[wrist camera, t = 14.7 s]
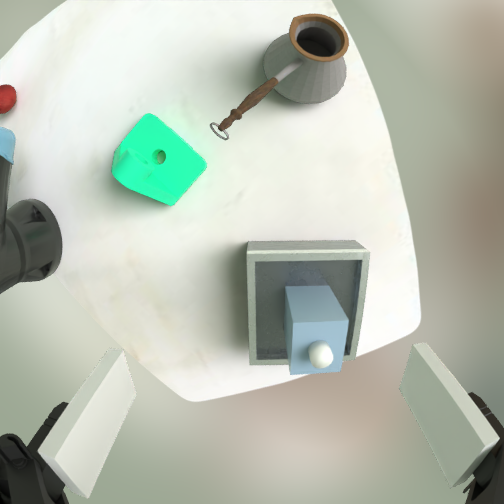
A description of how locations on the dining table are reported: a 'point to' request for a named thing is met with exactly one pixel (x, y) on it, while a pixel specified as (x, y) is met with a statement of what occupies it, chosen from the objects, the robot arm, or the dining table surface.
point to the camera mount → (148, 168)
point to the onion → (7, 98)
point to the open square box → (301, 274)
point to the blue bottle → (314, 330)
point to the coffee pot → (301, 65)
